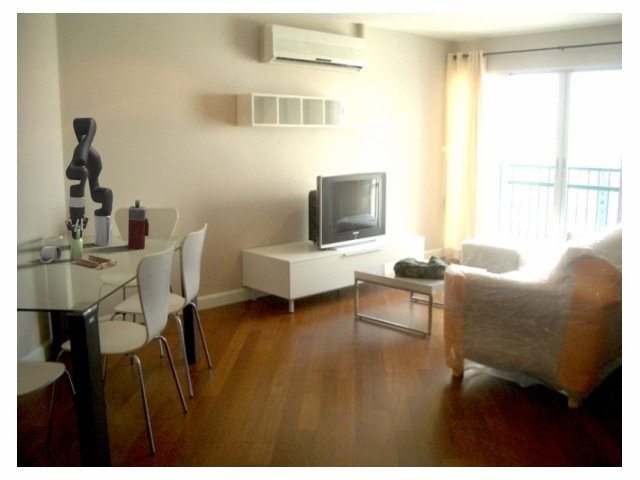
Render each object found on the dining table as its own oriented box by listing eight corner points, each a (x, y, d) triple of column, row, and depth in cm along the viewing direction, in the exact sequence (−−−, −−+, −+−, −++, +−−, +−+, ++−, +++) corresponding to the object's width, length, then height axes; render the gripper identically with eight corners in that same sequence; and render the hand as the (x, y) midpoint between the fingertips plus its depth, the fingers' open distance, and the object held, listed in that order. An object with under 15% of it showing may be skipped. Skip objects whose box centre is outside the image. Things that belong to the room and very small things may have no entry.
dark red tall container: (148, 249, 348) (149, 201, 342) (128, 248, 346) (128, 200, 340) (149, 245, 357) (150, 198, 351) (129, 244, 354) (130, 197, 348)
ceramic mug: (46, 258, 314) (45, 243, 312) (61, 259, 314) (61, 245, 312) (36, 263, 303) (35, 248, 302) (52, 264, 303) (52, 250, 302)
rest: (90, 259, 318) (90, 254, 318) (117, 265, 311) (117, 260, 311) (75, 262, 309) (75, 258, 309) (102, 269, 302) (102, 264, 302)
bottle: (76, 257, 319) (77, 224, 315) (84, 259, 317) (85, 226, 313) (68, 259, 314) (68, 225, 310) (76, 261, 312) (76, 227, 308)
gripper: (82, 202, 317) (82, 234, 321) (60, 205, 304) (60, 238, 308) (92, 204, 314) (92, 237, 318) (71, 208, 301) (71, 241, 305)
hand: (77, 237), depth 313 cm, fingers closed on bottle, 3 cm apart
